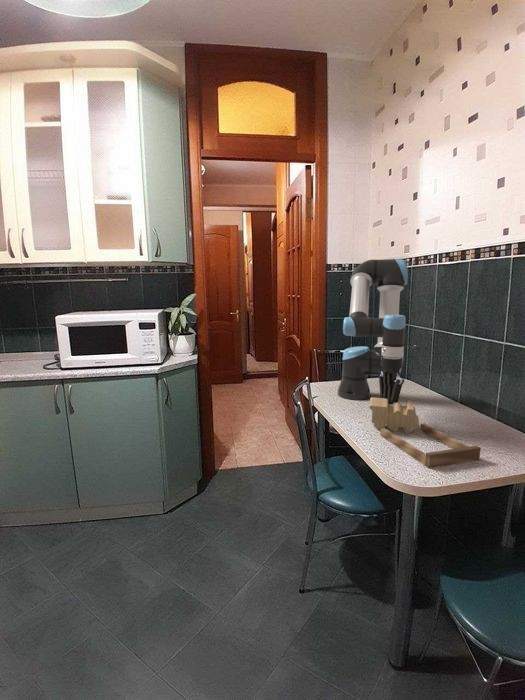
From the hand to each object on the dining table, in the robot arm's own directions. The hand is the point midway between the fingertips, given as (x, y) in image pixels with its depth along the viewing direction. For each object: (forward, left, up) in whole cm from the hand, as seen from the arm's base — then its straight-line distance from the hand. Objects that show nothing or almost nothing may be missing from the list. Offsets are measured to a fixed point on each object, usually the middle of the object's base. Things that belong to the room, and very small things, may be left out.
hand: (387, 418), depth 132 cm
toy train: (+4, -1, -2) cm, 5 cm away
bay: (+20, 0, -2) cm, 20 cm away
